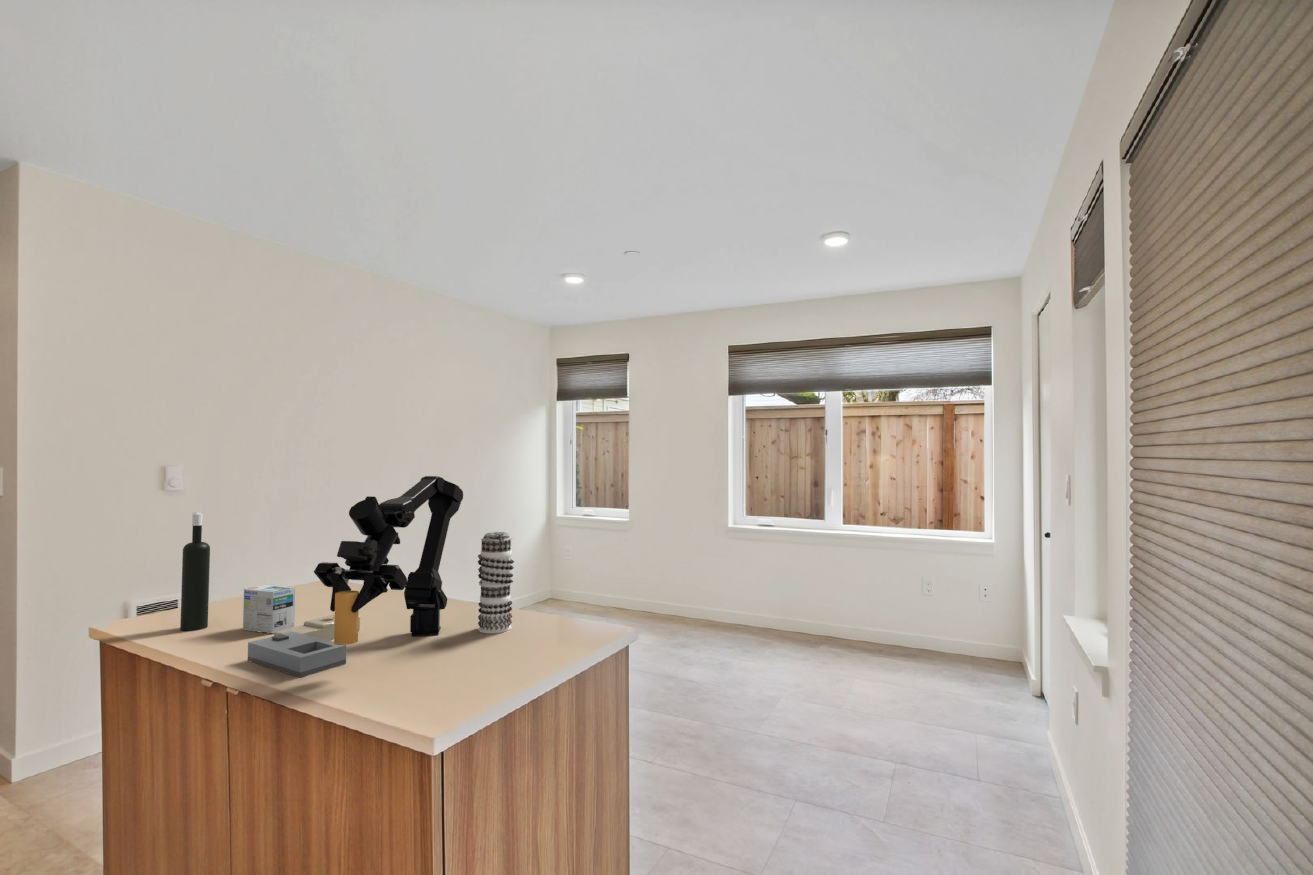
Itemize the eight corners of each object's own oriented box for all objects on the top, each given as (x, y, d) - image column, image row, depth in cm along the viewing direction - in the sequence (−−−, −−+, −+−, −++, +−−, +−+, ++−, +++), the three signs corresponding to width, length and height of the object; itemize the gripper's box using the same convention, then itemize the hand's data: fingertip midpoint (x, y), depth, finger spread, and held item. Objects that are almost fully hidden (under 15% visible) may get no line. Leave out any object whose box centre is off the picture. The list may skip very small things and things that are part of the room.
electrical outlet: (274, 627, 148) (342, 612, 164) (273, 645, 148) (341, 628, 164) (293, 631, 145) (360, 615, 161) (292, 649, 145) (360, 631, 161)
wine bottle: (183, 626, 165) (187, 511, 166) (209, 624, 167) (213, 511, 168) (177, 632, 159) (181, 513, 160) (205, 629, 162) (208, 512, 163)
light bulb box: (295, 627, 164) (296, 586, 165) (272, 634, 158) (273, 591, 158) (265, 624, 168) (266, 583, 168) (241, 630, 161) (242, 588, 162)
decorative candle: (472, 627, 166) (473, 532, 167) (506, 622, 171) (507, 530, 172) (482, 635, 158) (484, 536, 159) (518, 630, 163) (519, 533, 164)
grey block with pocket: (346, 663, 136) (346, 642, 136) (300, 677, 127) (300, 654, 128) (293, 649, 146) (293, 629, 146) (247, 660, 138) (248, 639, 138)
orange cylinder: (360, 638, 132) (361, 590, 132) (355, 644, 127) (356, 594, 128) (337, 639, 131) (338, 591, 131) (331, 645, 126) (332, 595, 127)
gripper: (320, 524, 135) (281, 586, 124) (400, 526, 132) (367, 590, 121) (343, 555, 143) (308, 617, 131) (419, 558, 140) (390, 621, 128)
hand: (342, 611), depth 128 cm, fingers closed on orange cylinder, 4 cm apart
